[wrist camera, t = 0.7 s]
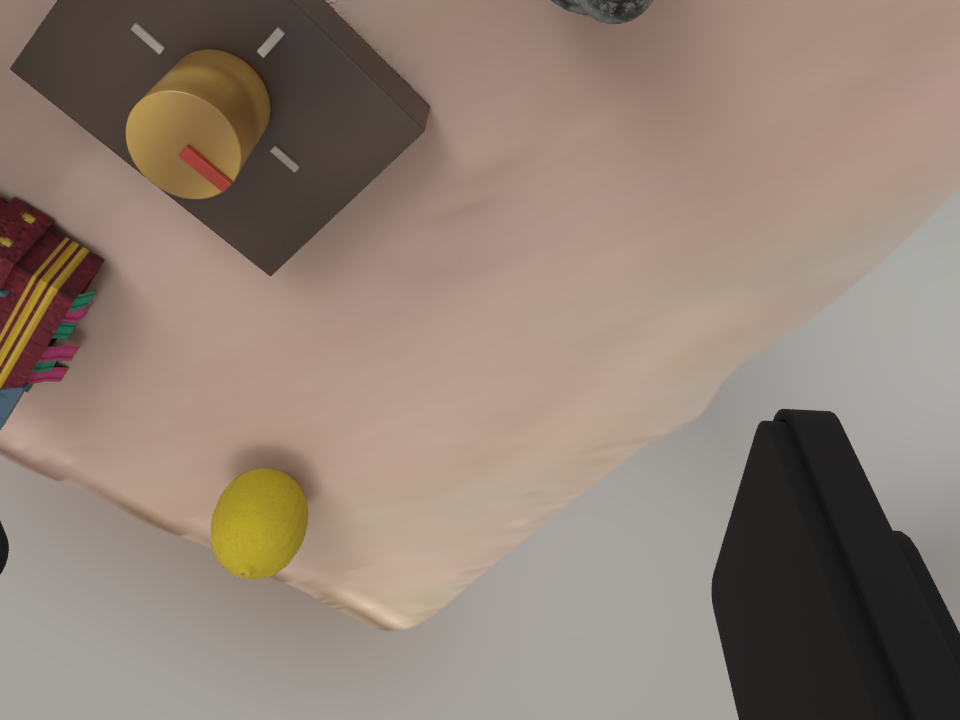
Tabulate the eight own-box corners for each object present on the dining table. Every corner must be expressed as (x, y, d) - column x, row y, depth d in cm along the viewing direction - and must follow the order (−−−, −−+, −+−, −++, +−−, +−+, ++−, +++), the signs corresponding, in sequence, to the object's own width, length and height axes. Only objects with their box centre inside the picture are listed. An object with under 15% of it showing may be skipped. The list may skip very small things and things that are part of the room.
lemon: (287, 431, 52) (255, 530, 46) (334, 489, 55) (311, 590, 49) (214, 458, 54) (173, 557, 47) (264, 513, 57) (232, 614, 50)
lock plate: (40, 47, 39) (7, 70, 36) (178, -146, 34) (151, -136, 31) (283, 247, 44) (269, 278, 42) (430, 106, 40) (424, 132, 37)
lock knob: (147, 98, 37) (99, 147, 33) (207, 26, 35) (164, 68, 31) (230, 168, 39) (195, 223, 34) (291, 103, 37) (262, 153, 32)
